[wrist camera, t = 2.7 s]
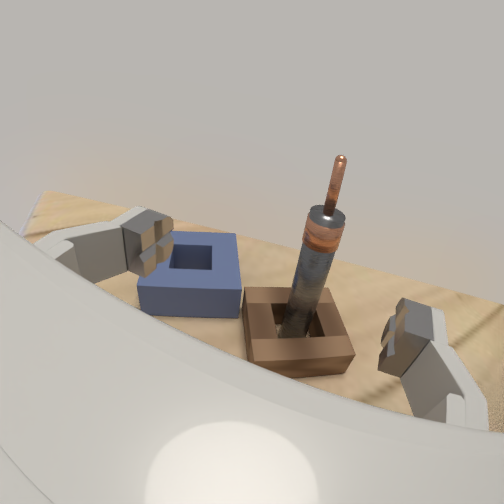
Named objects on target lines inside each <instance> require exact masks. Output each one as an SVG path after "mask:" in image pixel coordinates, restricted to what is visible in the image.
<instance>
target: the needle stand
mask: <svg viewBox="0 0 504 504" xmlns="http://www.w3.org/2000/svg"><path fill="white" fill-rule="evenodd" d="M290 291H291V288H284V287H245V288H244V296H243V303H242V314H243V323H244V332H245V341H246V350H247V358H248V362H250V363H253V364H255V365H258V366H260V367H262V368H265V369H267V370H270V371H272V372H275V373H278V374H280V375H283V376H285V377H288V378H299V377H311V376H322V375H332V374H341V373H345V371H346V370H347V368H348V366H349V365H350V363H351V361H352V360H353V358H354V356H355V355H356V354H355V352H354V349H353V347H352V344H351V342H350V339H349V337H348V334H347V332H346V329H345V327H344V324H343V322H342V319H341V317H340V314H339V312H338V310H337V307H336V305H335V302H334V300H333V298H332V295H331V293H330V290H329V288H323V290H322V293H321V296H320V299H319V302H318V305H317V307H316V310H315V313H314V316H313V319H312V321H311V324H310V327H309V332H310V336H311V338H286V339H278V337H277V332H276V327H275V324H282V321H283V317H284V313H285V310H286V306H287V302H288V298H289V295H290Z"/></svg>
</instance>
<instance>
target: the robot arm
mask: <svg viewBox="0 0 504 504" xmlns="http://www.w3.org/2000/svg"><path fill="white" fill-rule="evenodd" d="M173 229H174V227H173V219H172V218H171V217H169V216H167V215H164V214H161V213H158V212H156V211H153V210H150V209H148V208H145V207H142V206H136V207H134V208H132V209H131V210H129V211H127V212H125V213H124V214H122V215H120V216H119V217H117V218H115V219H113V220H112V221H110V222H108V221H104V222H98V223H93V224H87V225H82V226H77V227H72V228H67V229H62V230H57V231H53V232H51V233H49V234H48V235H46V236H45V237H43V238H41V239H40V240H38V241H37V242H35V243H34V244H32V243H30V242H29V241H27V240H26V239H25V238H23V237H22V236H21V235H19V234H18V233H16V232H15V231H14V230H12V229H11V228H10V227H8V226H7V225H6V224H4V223H3V222H2V221H0V504H504V433H501V432H494V431H489V423H488V408H487V400H486V399H485V397H484V395H483V394H482V392H481V390H480V389H479V387H478V386H477V384H476V382H475V381H474V379H473V378H472V376H471V375H470V373H469V372H468V370H467V369H466V367H465V365H464V364H463V362H462V361H461V360H460V358H459V357H458V355H457V354H456V352H455V351H454V349H453V348H452V347H450V346H448V338H447V330H446V323H445V316H444V312H443V311H442V310H440V309H437V308H433V307H430V306H426V305H423V304H420V303H417V302H414V301H411V300H408V299H405V298H401V300H400V301H399V302H398V304H397V306H396V314H395V315H393V316H391V317H390V318H389V320H388V322H387V324H386V326H385V329H384V331H383V335H382V339H381V345H382V347H383V350H382V351H381V353H380V355H379V363H378V371H381V372H384V373H387V374H390V375H393V376H396V377H399V378H400V380H401V383H402V385H403V388H404V391H405V393H406V396H407V399H408V401H409V404H410V407H411V409H412V412H413V415H414V416H410V415H406V414H402V413H398V412H394V411H391V410H387V409H383V408H379V407H376V406H372V405H369V404H365V403H362V402H359V401H355V400H352V399H349V398H346V397H342V396H339V395H336V394H333V393H330V392H327V391H324V390H321V389H318V388H315V387H313V386H310V385H307V384H304V383H301V382H299V381H296V380H293V379H291V378H288V377H285V376H283V375H280V374H278V373H275V372H272V371H270V370H267V369H265V368H262V367H260V366H258V365H255V364H253V363H250V362H248V361H246V360H243V359H241V358H238V357H236V356H234V355H231V354H229V353H227V352H225V351H222V350H220V349H218V348H216V347H213V346H211V345H209V344H207V343H205V342H203V341H200V340H198V339H196V338H194V337H192V336H190V335H188V334H186V333H184V332H182V331H180V330H178V329H176V328H174V327H172V326H170V325H168V324H166V323H164V322H162V321H160V320H158V319H156V318H154V317H152V316H150V315H148V314H146V313H144V312H143V311H141V310H139V309H137V308H135V307H133V306H132V305H130V304H128V303H126V302H124V301H123V300H121V299H119V298H117V297H115V296H114V295H112V294H110V293H109V292H107V291H105V290H103V289H102V288H100V287H98V286H97V285H95V283H97V282H100V281H103V280H105V279H108V278H111V277H113V276H116V275H119V274H122V273H124V272H127V270H128V271H130V272H132V273H135V274H137V275H139V276H141V277H143V278H146V277H147V276H148V275H150V274H151V273H152V272H153V271H154V270H155V269H156V268H157V264H158V263H162V262H165V261H166V260H167V259H168V258H169V256H170V254H171V253H172V250H173V246H174V239H173V237H172V235H171V233H170V232H171V231H172V230H173Z"/></svg>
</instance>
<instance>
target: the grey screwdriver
mask: <svg viewBox="0 0 504 504" xmlns="http://www.w3.org/2000/svg"><path fill="white" fill-rule="evenodd" d="M346 163H347V159H346V158H345V156H343V155H338V156H337V157H336V159H335V162H334V167H333V171H332V176H331V180H330V184H329V188H328V192H327V197H326V201H325V205H315V206H313V207H311V209H310V212H309V214H308V216H307V221H306V225H305V229H304V234H303V238H302V240H303V244H302V248H301V251H300V256H299V260H298V264H297V267H296V271H295V275H294V279H293V283H292V287H291V291H290V295H289V298H288V302H287V306H286V310H285V313H284V317H283V321H282V324H281V328H280V331H279V335H278V339H286V338H305V337H306V335H307V332H308V329H309V327H310V324H311V321H312V319H313V316H314V313H315V310H316V307H317V305H318V302H319V299H320V296H321V293H322V290H323V287H324V285H325V282H326V279H327V276H328V273H329V270H330V267H331V263H332V260H333V257H334V254H335V251H336V250H337V249H338V246H339V243H340V239H341V236H342V232H343V230H344V226H345V222H344V221H345V215H344V214H343V213H342V212H341V211H339V210H337V209H335V207H336V203H337V199H338V195H339V191H340V187H341V183H342V180H343V176H344V171H345V167H346Z"/></svg>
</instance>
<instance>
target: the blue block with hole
mask: <svg viewBox="0 0 504 504" xmlns="http://www.w3.org/2000/svg"><path fill="white" fill-rule="evenodd" d="M170 233H171V235H172V237H173V239H174V246H173V250H172V253H171V254H170V256H169V258H168V259H167V260H166V261H165V262H162V263H158V264H157V268H156V269H155V270H154V271H153V272H152V273H151V274H150V275H148V276H147V277H146V278H143V277H141V276H139V279H138V283H137V290H138V296H139V302H140V307H141V311H143V312H144V313H146V314H148V315H158V316H179V317H207V318H238V315H239V307H240V299H241V291H242V287H241V278H240V269H239V260H238V251H237V242H236V234H235V233H211V232H184V231H171V232H170Z"/></svg>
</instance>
